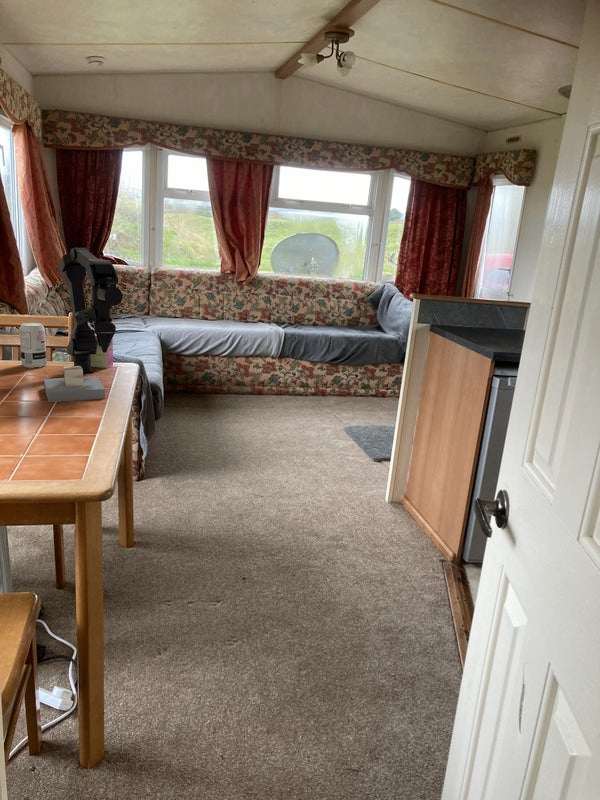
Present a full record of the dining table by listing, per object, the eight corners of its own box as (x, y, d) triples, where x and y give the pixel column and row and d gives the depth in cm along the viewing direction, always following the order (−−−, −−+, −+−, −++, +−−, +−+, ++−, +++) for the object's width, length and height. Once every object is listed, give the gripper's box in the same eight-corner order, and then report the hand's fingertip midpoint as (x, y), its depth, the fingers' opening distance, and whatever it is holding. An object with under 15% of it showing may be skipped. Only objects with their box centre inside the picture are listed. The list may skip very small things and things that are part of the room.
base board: (44, 388, 191) (43, 379, 190) (97, 385, 198) (96, 376, 197) (48, 402, 178) (48, 392, 177) (105, 398, 185) (104, 388, 184)
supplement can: (22, 363, 221) (20, 322, 216) (47, 363, 223) (45, 322, 219) (20, 368, 213) (17, 326, 209) (46, 368, 216) (43, 326, 212)
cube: (64, 382, 188) (63, 366, 187) (81, 381, 190) (80, 365, 189) (66, 386, 184) (65, 370, 183) (83, 385, 186) (82, 369, 185)
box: (113, 365, 226) (112, 333, 223) (107, 368, 221) (106, 336, 218) (86, 362, 227) (85, 331, 224) (79, 366, 222) (78, 334, 218)
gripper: (72, 296, 197) (73, 343, 202) (77, 305, 181) (78, 356, 185) (107, 297, 202) (108, 343, 206) (115, 305, 186) (116, 355, 190)
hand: (102, 349), depth 197 cm, fingers open, 9 cm apart
